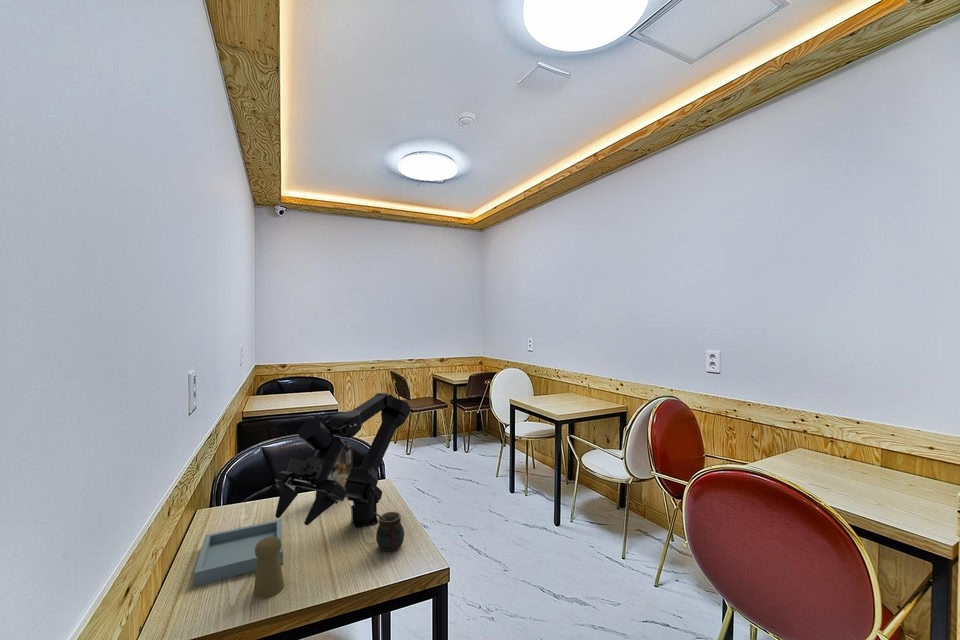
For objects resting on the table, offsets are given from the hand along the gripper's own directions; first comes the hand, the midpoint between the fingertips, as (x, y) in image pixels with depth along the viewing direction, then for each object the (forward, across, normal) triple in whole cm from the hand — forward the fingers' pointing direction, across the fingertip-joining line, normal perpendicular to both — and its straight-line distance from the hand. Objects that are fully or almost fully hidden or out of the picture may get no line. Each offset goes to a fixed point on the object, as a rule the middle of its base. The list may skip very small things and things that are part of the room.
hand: (291, 520), depth 97 cm
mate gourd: (-4, +15, +21) cm, 26 cm away
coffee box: (-17, -20, +35) cm, 44 cm away
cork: (+13, 0, +4) cm, 14 cm away
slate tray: (+8, -18, +9) cm, 21 cm away
